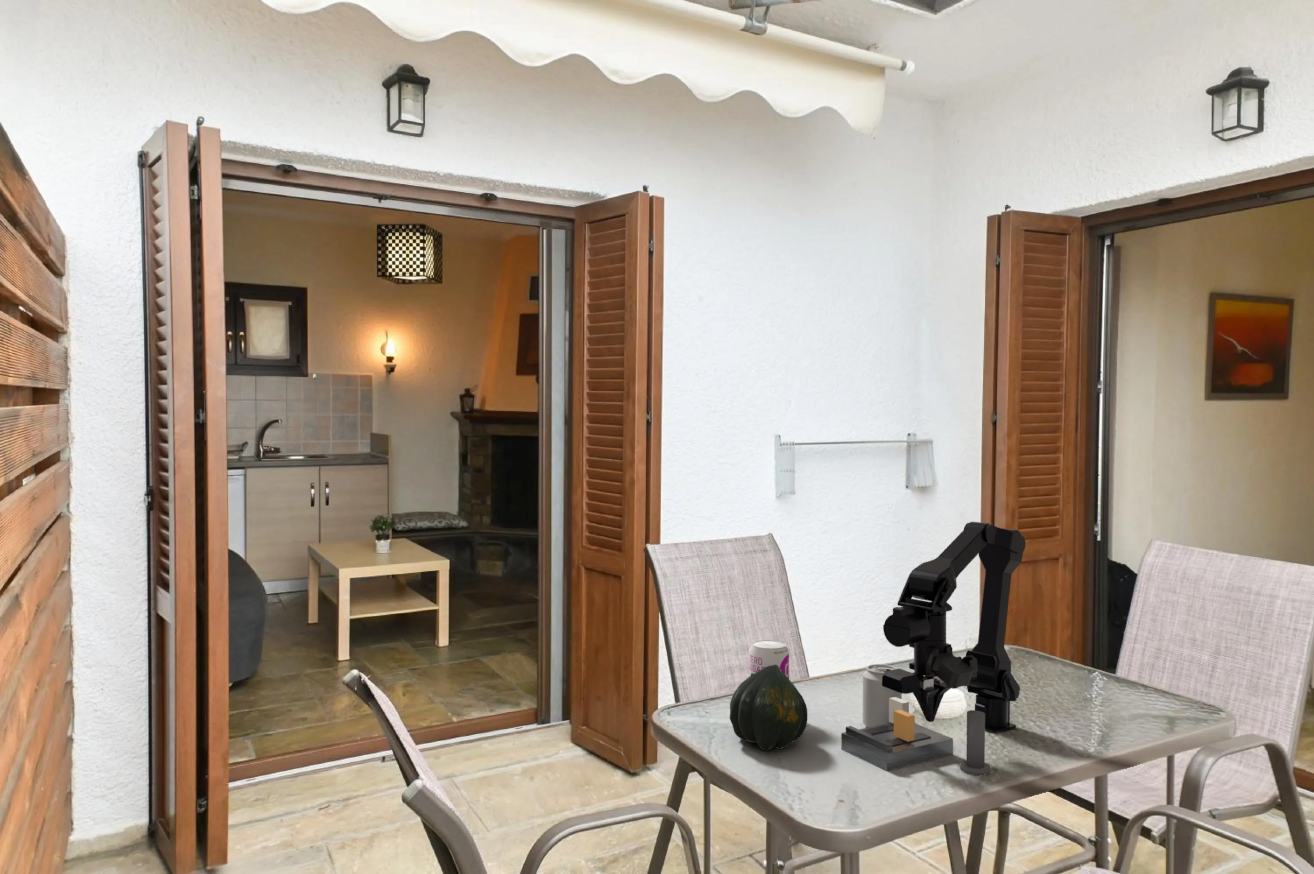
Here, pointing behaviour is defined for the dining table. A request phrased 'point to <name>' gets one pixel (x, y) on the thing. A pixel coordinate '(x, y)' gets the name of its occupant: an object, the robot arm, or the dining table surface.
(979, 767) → the rubber post
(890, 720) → the slider
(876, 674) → the can
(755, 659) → the supplement can
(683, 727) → the dining table surface
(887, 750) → the breaker block
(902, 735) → the slider
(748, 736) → the squash
